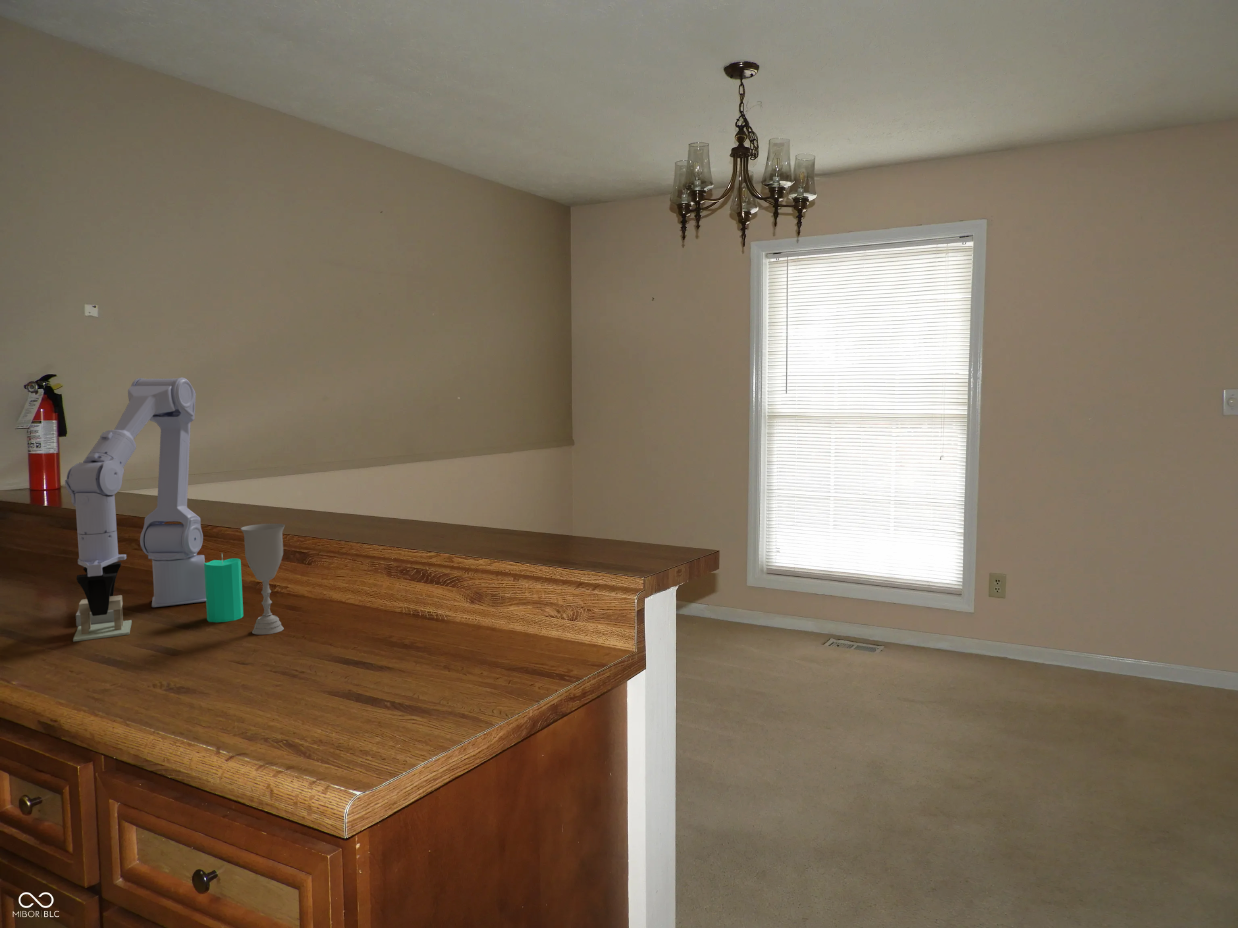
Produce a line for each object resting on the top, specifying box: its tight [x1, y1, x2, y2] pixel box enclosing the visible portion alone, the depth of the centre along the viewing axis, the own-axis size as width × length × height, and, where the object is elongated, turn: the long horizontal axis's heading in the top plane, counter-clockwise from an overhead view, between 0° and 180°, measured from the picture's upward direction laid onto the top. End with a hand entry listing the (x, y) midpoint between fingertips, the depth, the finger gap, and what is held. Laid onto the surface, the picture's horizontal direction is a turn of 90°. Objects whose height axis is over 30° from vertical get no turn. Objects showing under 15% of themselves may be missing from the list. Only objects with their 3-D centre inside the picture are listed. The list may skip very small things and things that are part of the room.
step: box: [75, 608, 114, 627], centre depth 151 cm, size 6×7×2 cm
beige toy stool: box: [78, 594, 124, 634], centre depth 143 cm, size 6×4×5 cm, turn 117°
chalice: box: [240, 523, 286, 635], centre depth 142 cm, size 7×7×18 cm
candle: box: [204, 552, 244, 623], centre depth 150 cm, size 6×6×12 cm
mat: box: [72, 619, 133, 642], centre depth 143 cm, size 8×9×1 cm
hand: (102, 609), depth 142 cm, fingers open, 7 cm apart
